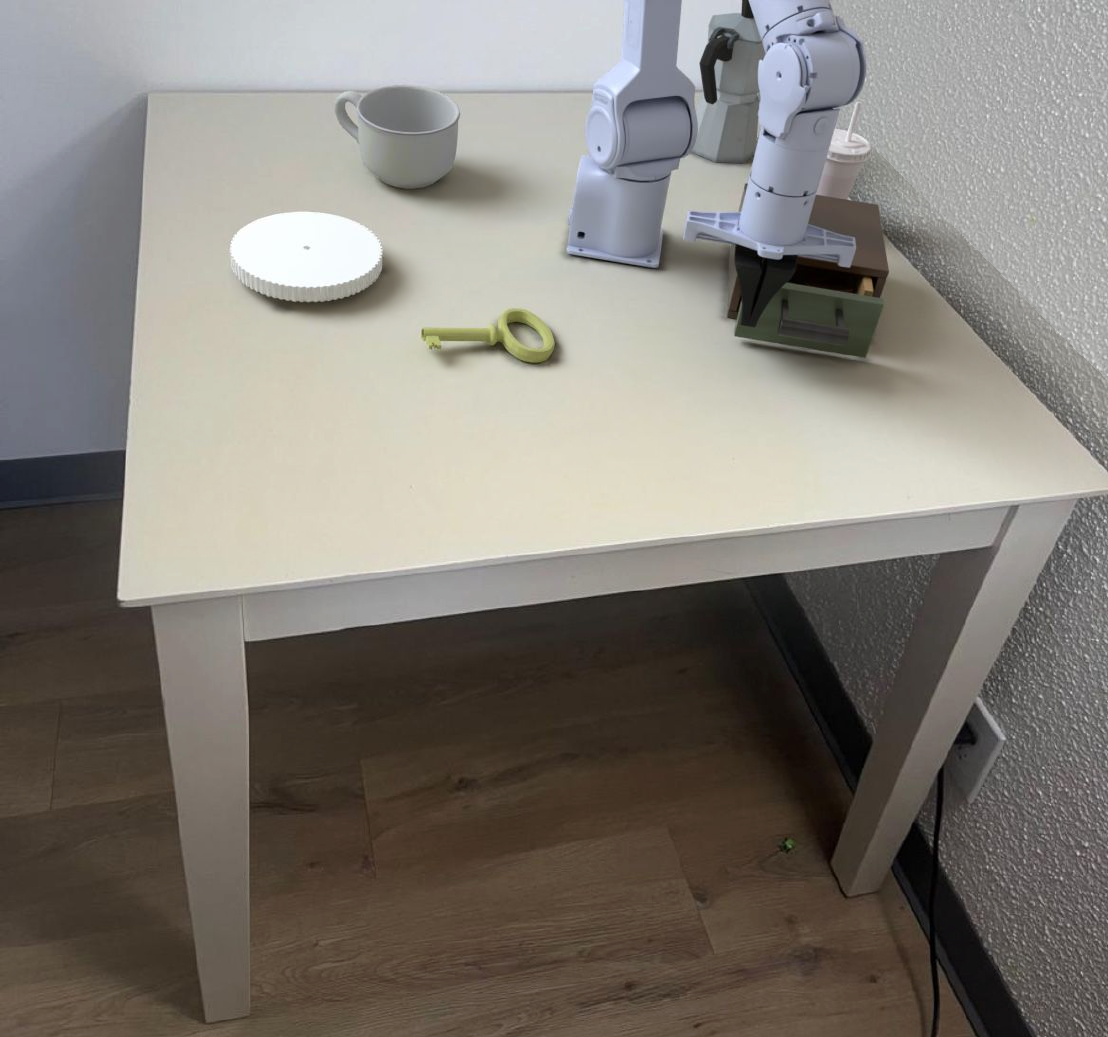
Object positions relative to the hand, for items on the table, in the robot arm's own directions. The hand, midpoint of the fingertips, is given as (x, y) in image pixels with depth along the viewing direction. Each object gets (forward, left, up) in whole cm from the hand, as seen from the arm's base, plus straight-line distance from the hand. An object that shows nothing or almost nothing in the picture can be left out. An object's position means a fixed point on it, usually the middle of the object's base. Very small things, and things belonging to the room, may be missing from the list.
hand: (747, 320), depth 106 cm
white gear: (-41, +2, -4) cm, 42 cm away
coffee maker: (-3, +44, -4) cm, 45 cm away
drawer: (+6, +6, -3) cm, 8 cm away
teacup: (-38, +25, -4) cm, 46 cm away
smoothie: (+9, +29, -4) cm, 31 cm away
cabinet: (+6, +13, -4) cm, 15 cm away
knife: (+6, +6, -2) cm, 9 cm away
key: (-22, -5, -4) cm, 23 cm away
